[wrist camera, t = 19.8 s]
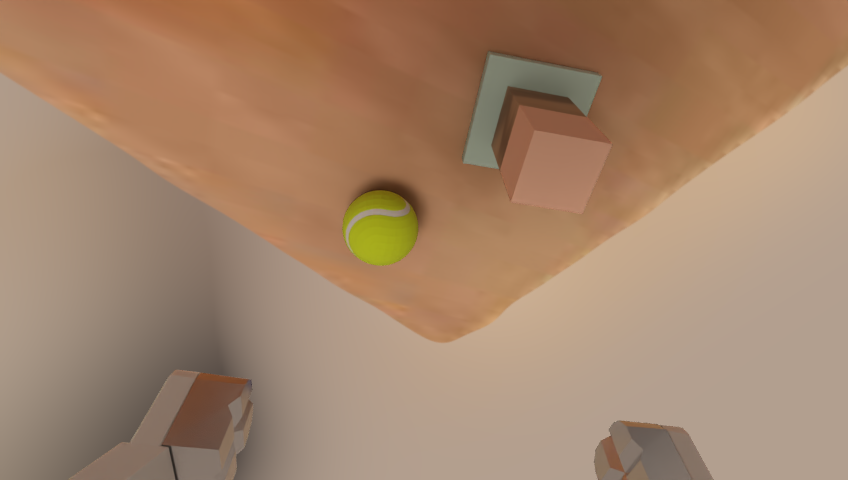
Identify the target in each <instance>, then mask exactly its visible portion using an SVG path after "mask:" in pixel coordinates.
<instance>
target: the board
mask: <svg viewBox="0 0 848 480" xmlns="http://www.w3.org/2000/svg"><path fill="white" fill-rule="evenodd" d="M601 78H602V76H601V75H600V74H599V73H597V72H592V71H587V70H582V69H577V68H572V67H566V66H561V65H556V64H551V63H546V62H541V61H536V60H531V59H526V58H521V57H516V56H510V55H505V54H500V53H495V52H490V51H488V53H487V58H486V62H485V66H484V70H483V74H482V78H481V82H480V86H479V90H478V94H477V98H476V102H475V107H474V111H473V115H472V119H471V123H470V127H469V131H468V135H467V139H466V143H465V147H464V151H463V156H462V160H463V163H466V164H472V165H478V166H483V167H489V168H495V169H499V167H498V164H497V161H496V158H495V155H494V152H493V149H492V147H491V144H492V141H493V137H494V133H495V130H496V126H497V123H498V119H499V115H500V112H501V108H502V105H503V101H504V98H505V94H506V90H507V87H508V86H511V87H516V88H521V89H526V90H532V91H537V92H542V93H548V94H553V95H558V96H564V97H568V98H569V99H570V100H571V101H572V102H573V103H574V104H575V105H576V106H577V107H578V108H579V109H580V110H581V111H582V113H583V114H584V115H585V116H586V117H587V115H588V112H589V109H590V107H591V104H592V102H593V99H594V97H595V94H596V91H597V89H598V86H599V84H600V81H601Z"/></svg>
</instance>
